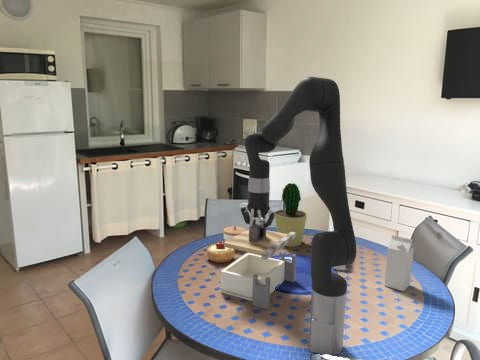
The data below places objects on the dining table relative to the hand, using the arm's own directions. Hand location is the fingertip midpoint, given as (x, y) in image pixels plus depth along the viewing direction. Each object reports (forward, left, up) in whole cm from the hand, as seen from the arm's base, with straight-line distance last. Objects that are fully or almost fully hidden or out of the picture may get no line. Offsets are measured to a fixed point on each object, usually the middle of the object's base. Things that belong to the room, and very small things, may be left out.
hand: (257, 236), depth 141 cm
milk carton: (+28, -45, -20) cm, 56 cm away
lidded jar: (+33, +28, -20) cm, 47 cm away
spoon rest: (+41, -18, -20) cm, 49 cm away
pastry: (+15, +25, -20) cm, 35 cm away
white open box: (0, -1, -19) cm, 19 cm away
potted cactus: (+50, +7, -20) cm, 54 cm away
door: (0, 0, -2) cm, 2 cm away
